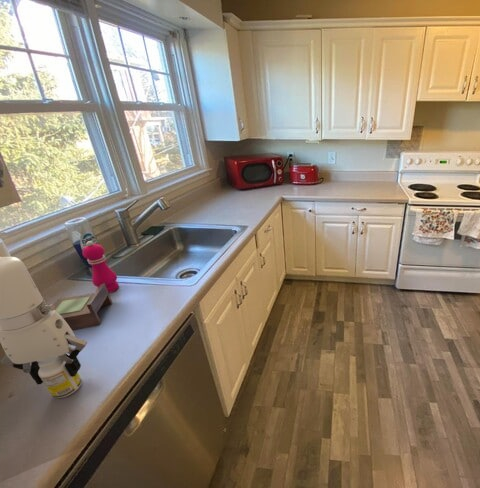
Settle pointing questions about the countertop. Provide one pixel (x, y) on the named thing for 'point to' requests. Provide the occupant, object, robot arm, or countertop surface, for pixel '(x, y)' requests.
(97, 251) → the pepper mill
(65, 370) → the supplement bottle
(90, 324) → the brown wooden box
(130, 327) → the countertop surface
